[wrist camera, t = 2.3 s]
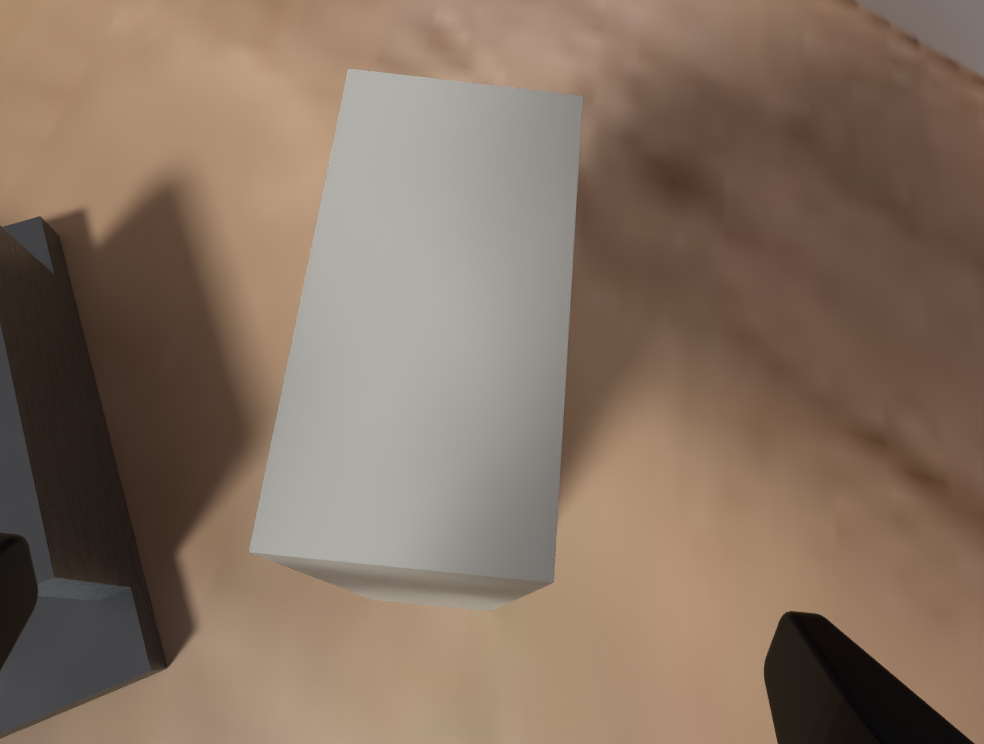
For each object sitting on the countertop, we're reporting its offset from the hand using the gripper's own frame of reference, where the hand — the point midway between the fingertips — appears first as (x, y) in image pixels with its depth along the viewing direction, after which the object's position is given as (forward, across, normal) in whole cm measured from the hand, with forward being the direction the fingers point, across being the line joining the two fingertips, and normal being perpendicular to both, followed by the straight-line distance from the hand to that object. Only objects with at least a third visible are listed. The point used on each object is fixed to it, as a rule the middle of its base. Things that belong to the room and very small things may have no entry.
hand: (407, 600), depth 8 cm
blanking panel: (+10, 0, +5) cm, 11 cm away
